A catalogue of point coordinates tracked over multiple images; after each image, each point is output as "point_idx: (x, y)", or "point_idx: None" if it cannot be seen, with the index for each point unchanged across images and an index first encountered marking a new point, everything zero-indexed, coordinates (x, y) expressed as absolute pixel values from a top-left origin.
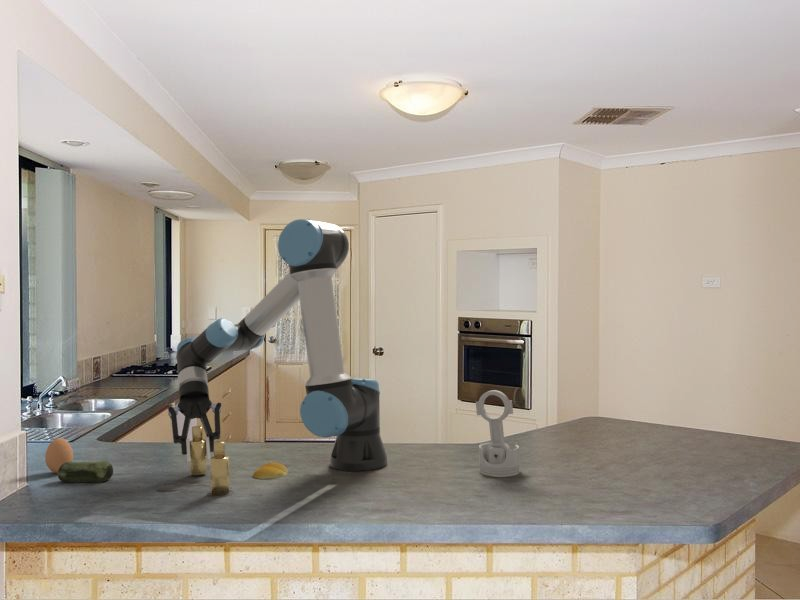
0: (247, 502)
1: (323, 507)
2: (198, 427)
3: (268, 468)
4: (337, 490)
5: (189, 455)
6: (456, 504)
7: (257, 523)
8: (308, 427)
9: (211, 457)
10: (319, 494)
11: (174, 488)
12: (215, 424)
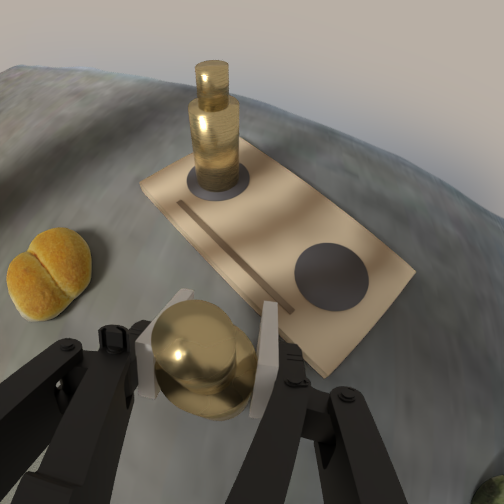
0: (180, 153)
1: (110, 109)
2: (191, 301)
3: (53, 235)
4: (41, 158)
5: (267, 312)
6: (29, 97)
7: None
8: None
9: (232, 112)
10: (70, 150)
11: (319, 266)
12: (41, 381)
